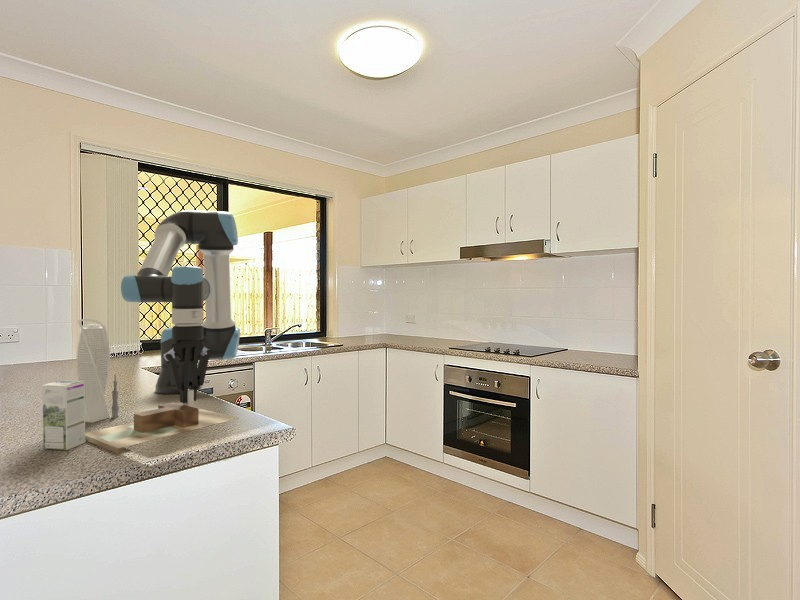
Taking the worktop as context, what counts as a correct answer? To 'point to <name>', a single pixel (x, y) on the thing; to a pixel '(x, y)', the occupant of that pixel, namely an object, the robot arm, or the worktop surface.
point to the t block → (166, 417)
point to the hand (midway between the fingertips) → (188, 414)
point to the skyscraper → (95, 371)
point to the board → (128, 436)
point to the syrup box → (63, 415)
